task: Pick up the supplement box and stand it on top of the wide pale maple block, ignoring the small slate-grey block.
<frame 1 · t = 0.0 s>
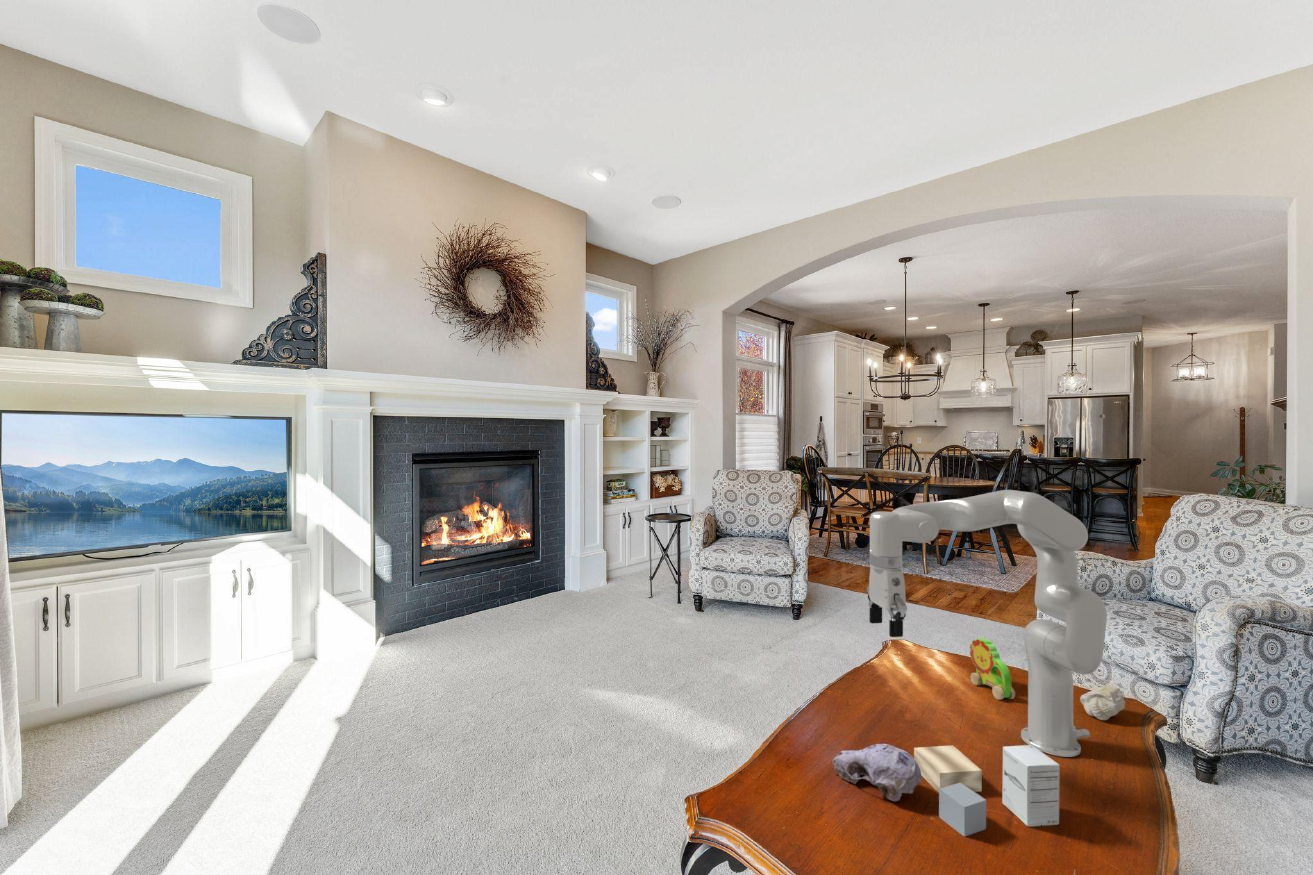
hand: (885, 629, 137), 31 cm above the table, fingers open, 9 cm apart
skull: (876, 784, 125), on the table
maple block: (946, 780, 127), on the table
supplement box: (1030, 815, 115), on the table
slate block: (962, 823, 112), on the table
fossil replica: (1102, 716, 156), on the table
toy lion: (989, 690, 172), on the table
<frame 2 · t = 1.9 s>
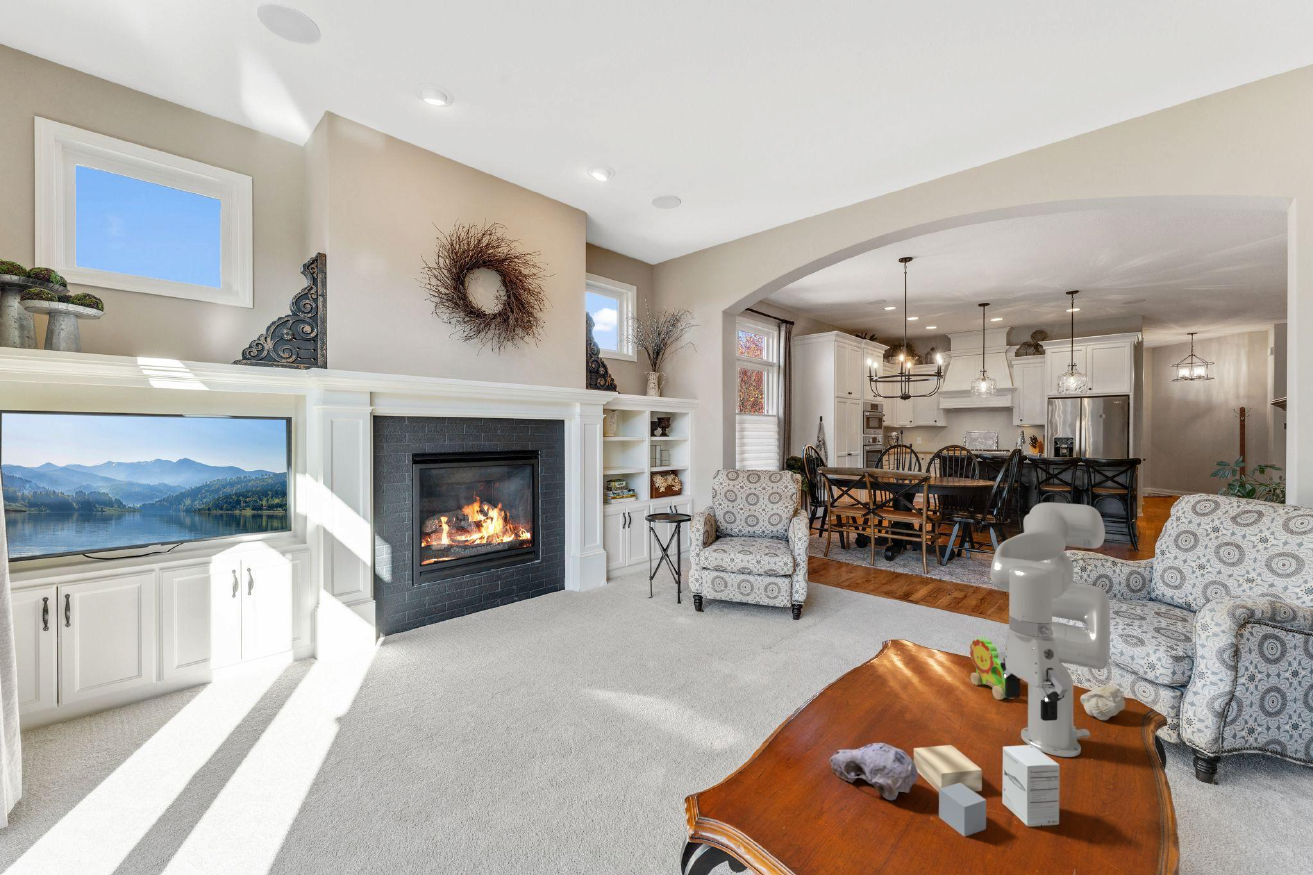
hand: (1030, 707, 115), 22 cm above the table, fingers open, 9 cm apart
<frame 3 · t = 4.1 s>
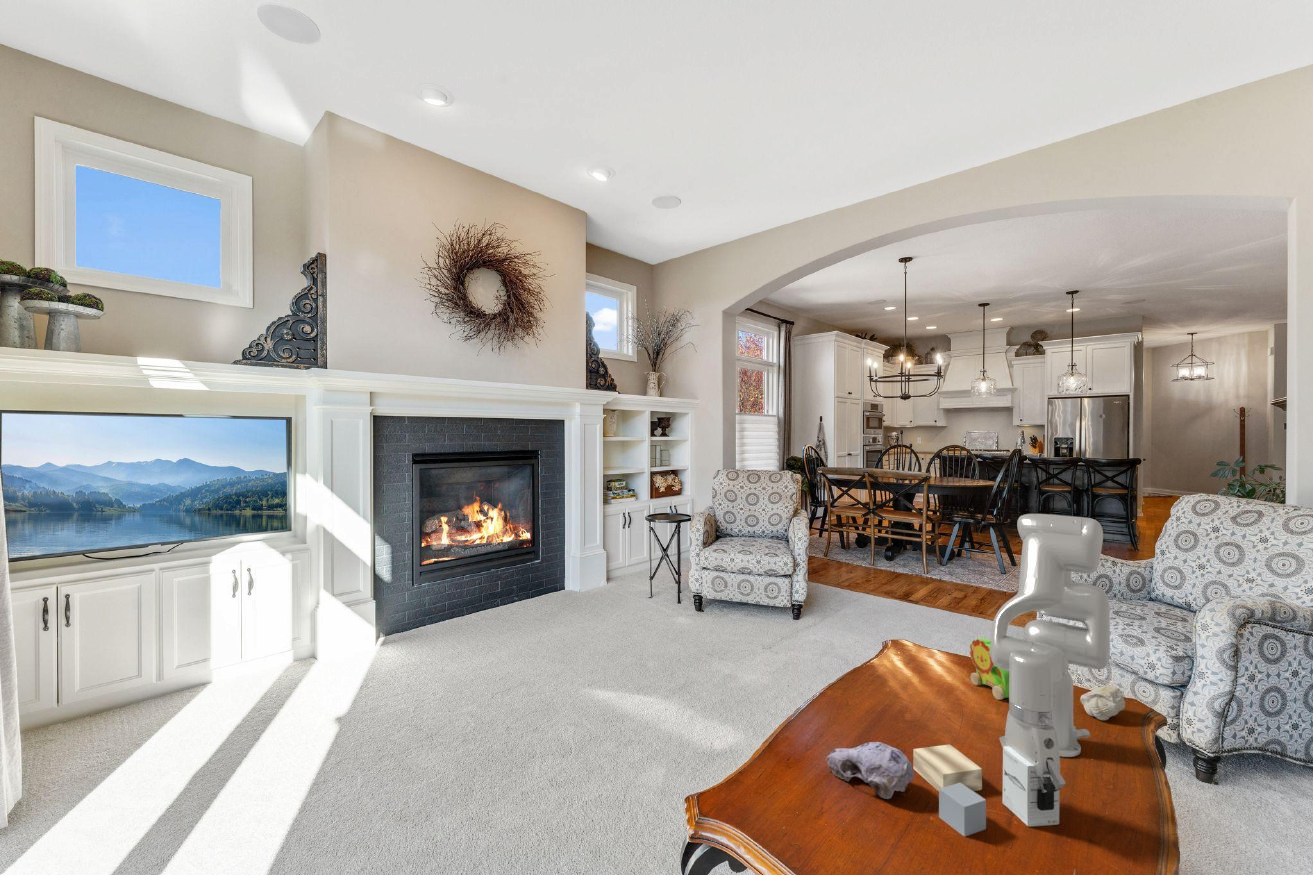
hand: (1030, 795, 115), 4 cm above the table, fingers closed on supplement box, 7 cm apart
supplement box: (1030, 815, 115), on the table, touching gripper
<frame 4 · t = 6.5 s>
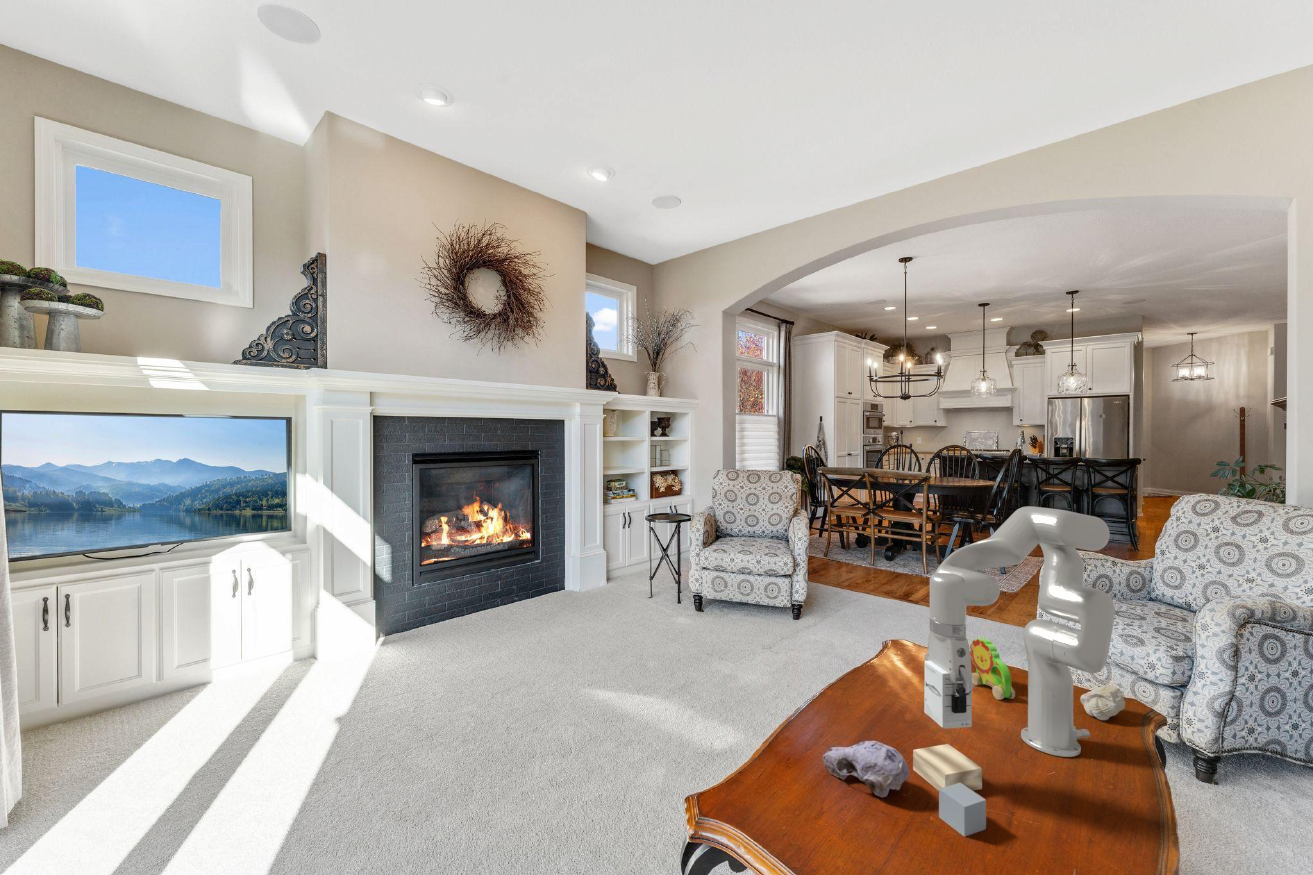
hand: (947, 703, 127), 18 cm above the table, fingers closed on supplement box, 7 cm apart
supplement box: (947, 720, 127), point 13 cm above the table, touching gripper
when the fingers open (10 cm above the table, at t = 8.9 s): supplement box drops 1 cm, resting on maple block.
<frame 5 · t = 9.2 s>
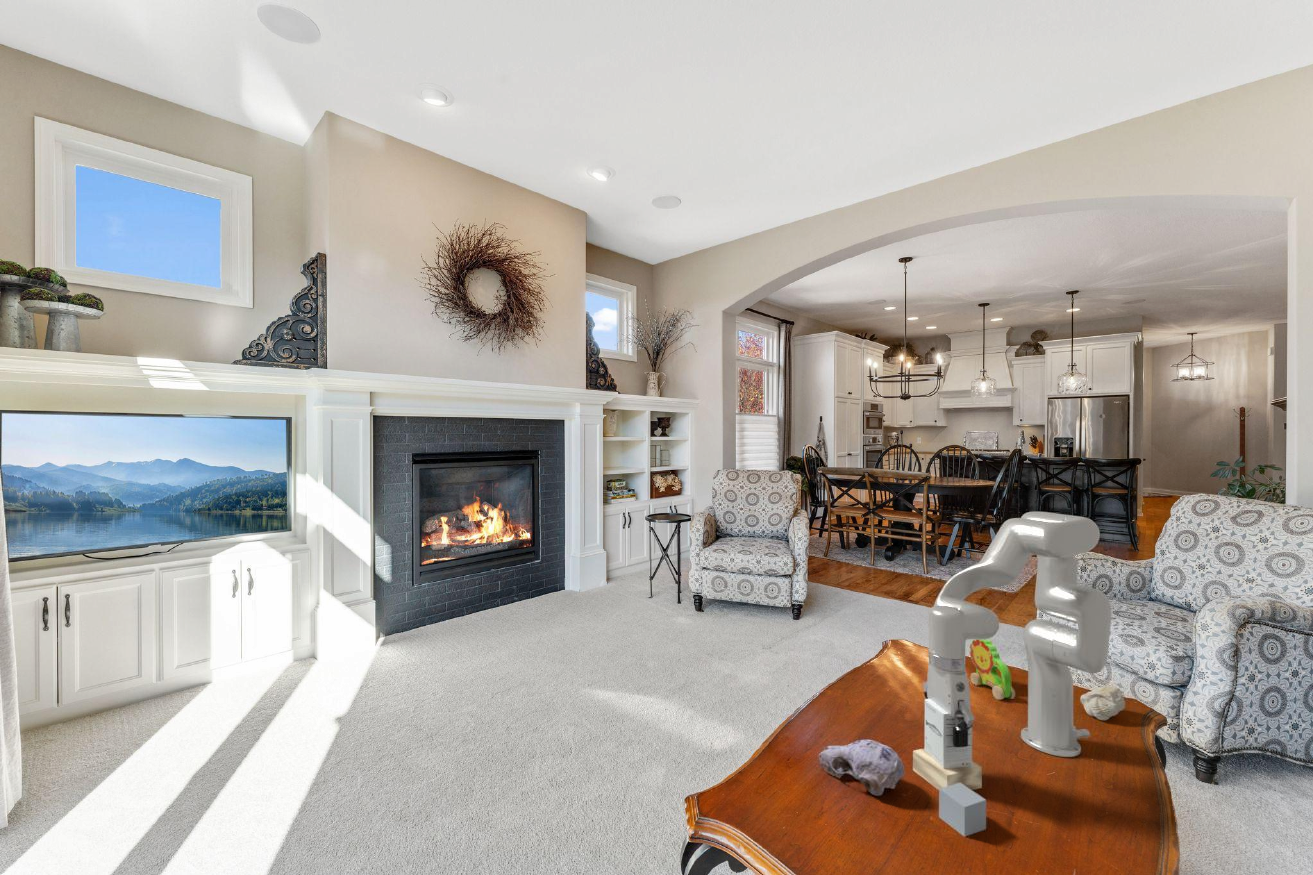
hand: (946, 734, 127), 10 cm above the table, fingers open, 9 cm apart
maple block: (946, 780, 127), on the table, touching supplement box
supplement box: (947, 759, 127), point 4 cm above the table, touching maple block
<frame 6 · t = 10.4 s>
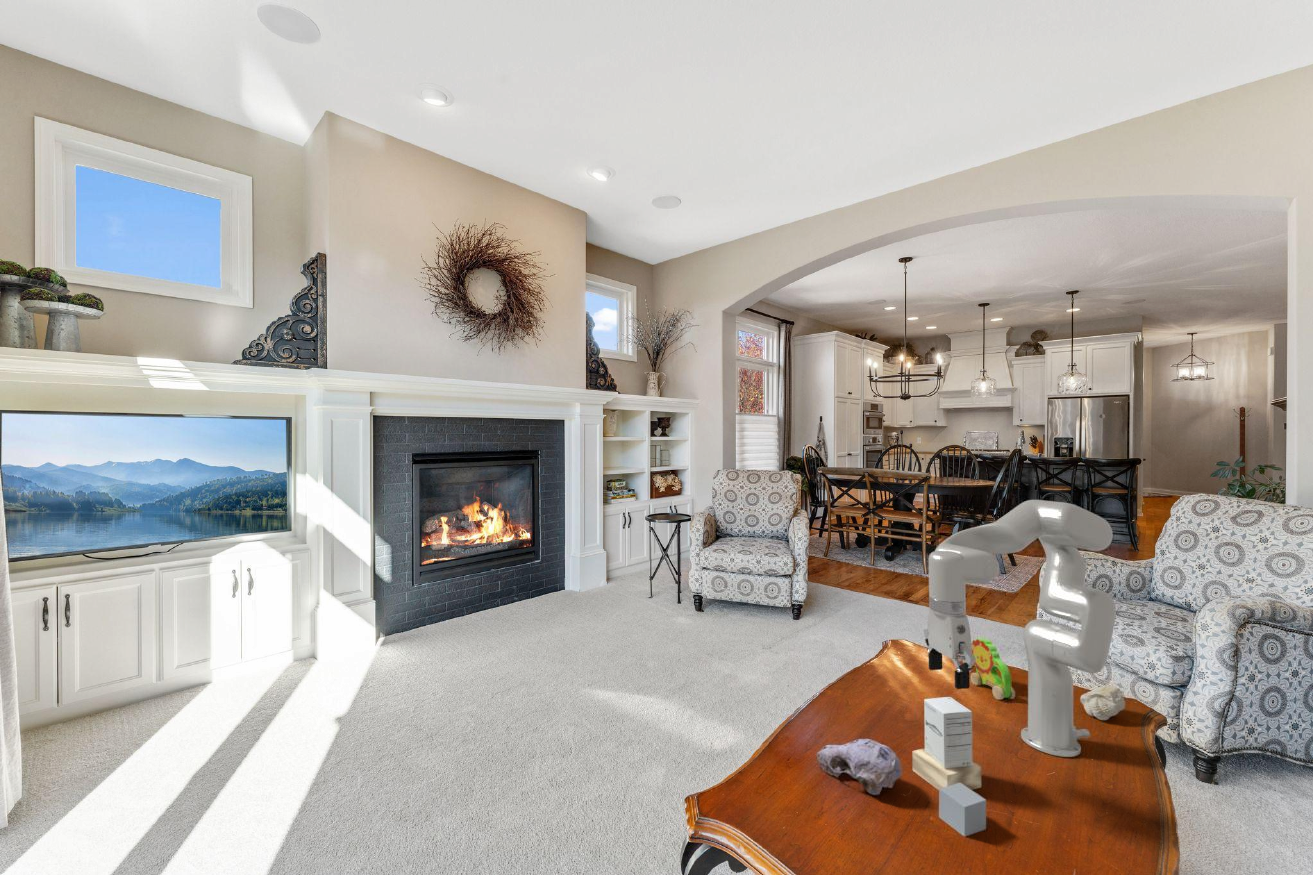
hand: (948, 678, 127), 23 cm above the table, fingers open, 9 cm apart
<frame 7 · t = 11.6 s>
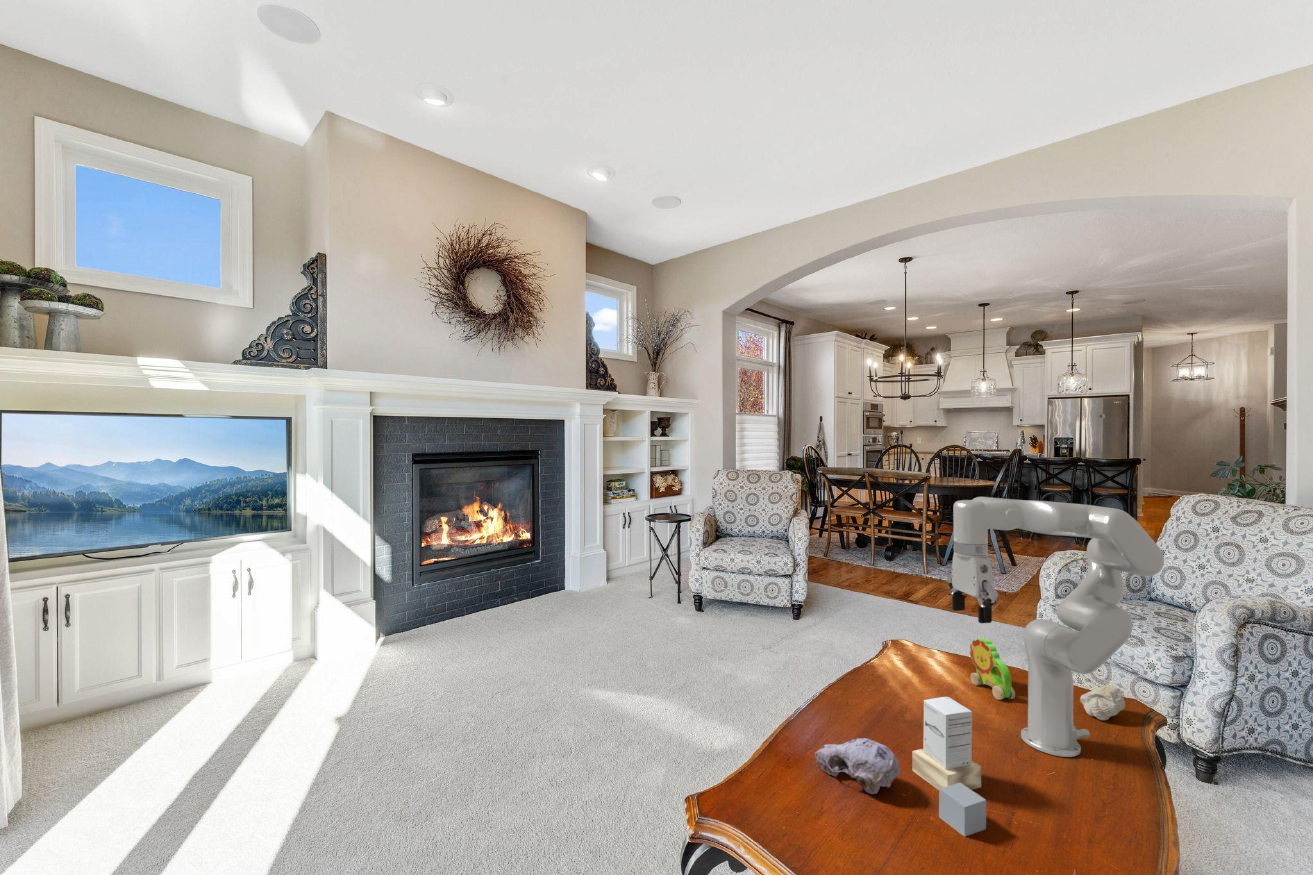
hand: (971, 616, 139), 34 cm above the table, fingers open, 9 cm apart
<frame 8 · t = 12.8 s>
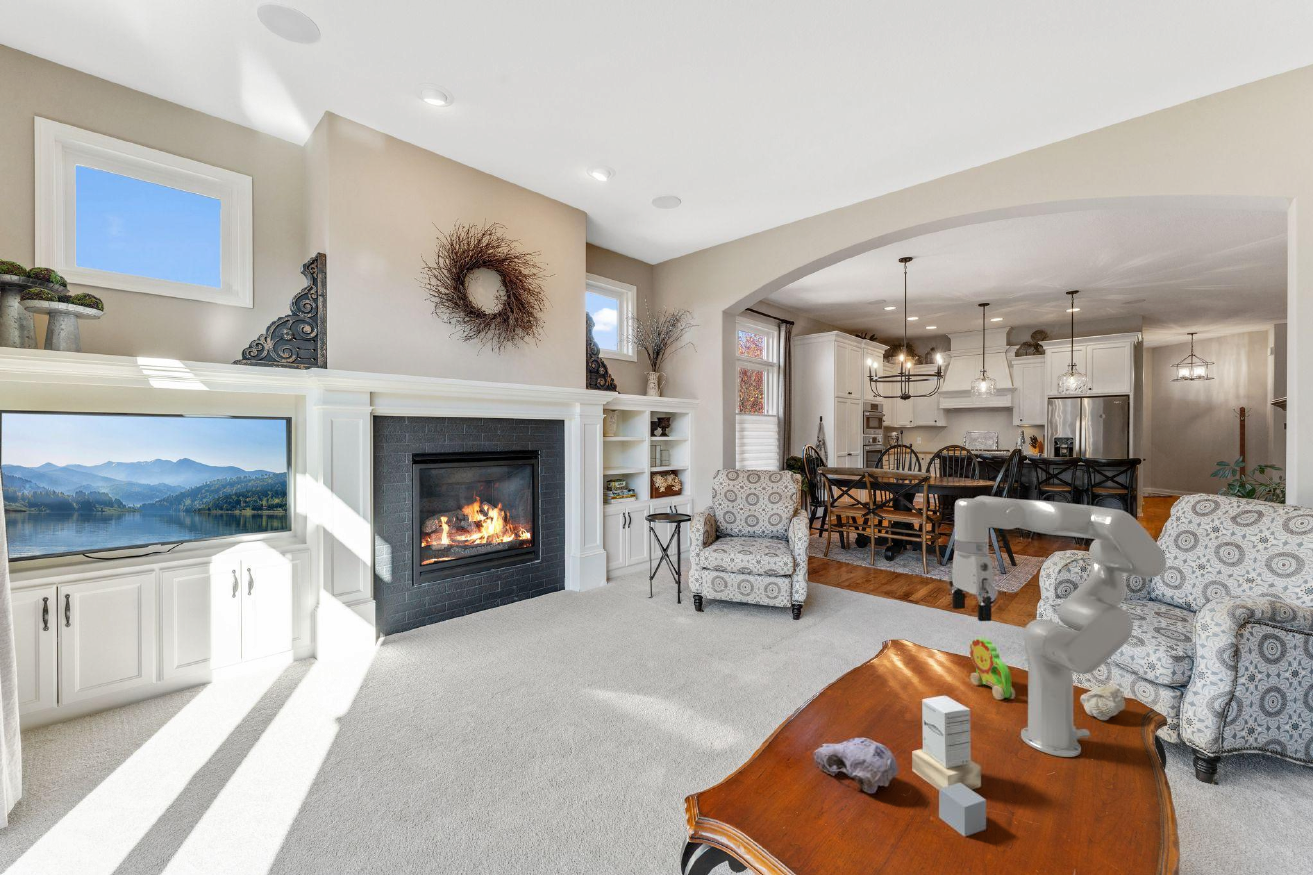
hand: (971, 614, 139), 34 cm above the table, fingers open, 9 cm apart
at the end: supplement box 0.3 cm from the maple block (horizontally); supplement box point 4.4 cm above the table; supplement box tilted 0° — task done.
